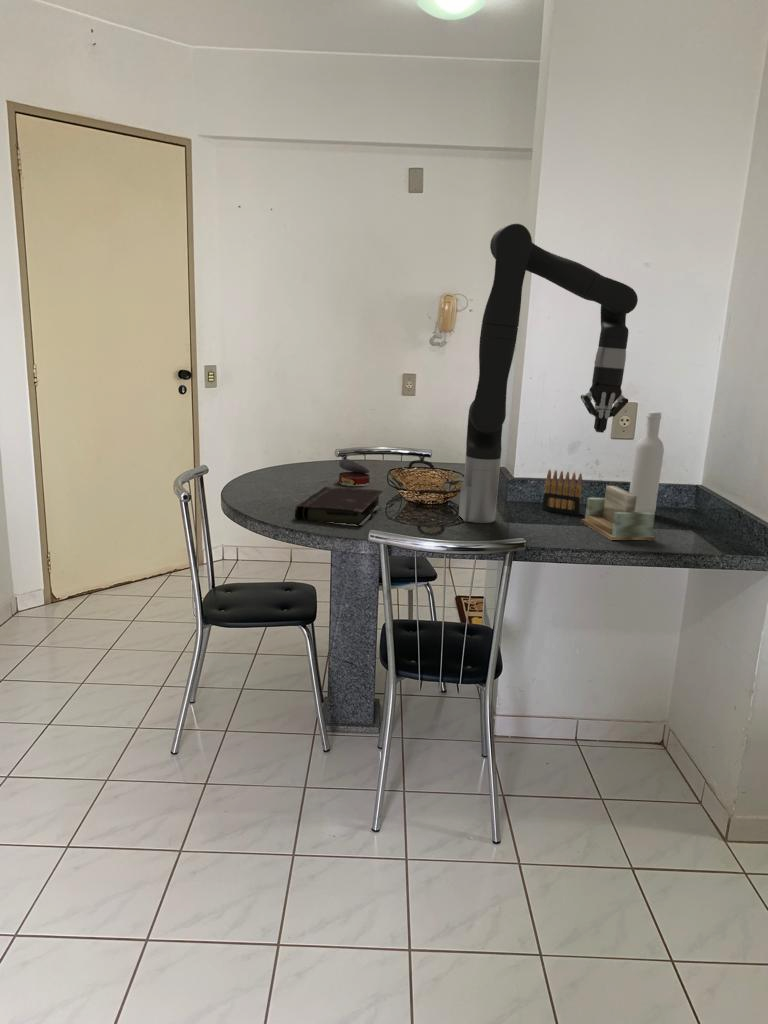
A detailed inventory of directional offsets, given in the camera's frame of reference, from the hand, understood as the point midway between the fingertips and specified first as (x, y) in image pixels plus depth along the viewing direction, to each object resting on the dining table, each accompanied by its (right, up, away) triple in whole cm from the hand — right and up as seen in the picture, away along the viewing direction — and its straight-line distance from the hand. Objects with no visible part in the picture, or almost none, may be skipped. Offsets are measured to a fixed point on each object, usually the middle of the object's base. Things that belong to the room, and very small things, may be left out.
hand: (599, 432), depth 200 cm
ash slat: (+4, -25, 0) cm, 26 cm away
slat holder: (+5, -26, 0) cm, 27 cm away
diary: (-69, -22, +3) cm, 72 cm away
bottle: (+18, -22, +21) cm, 35 cm away
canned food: (-67, -12, +41) cm, 80 cm away
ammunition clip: (-6, -21, +19) cm, 29 cm away
